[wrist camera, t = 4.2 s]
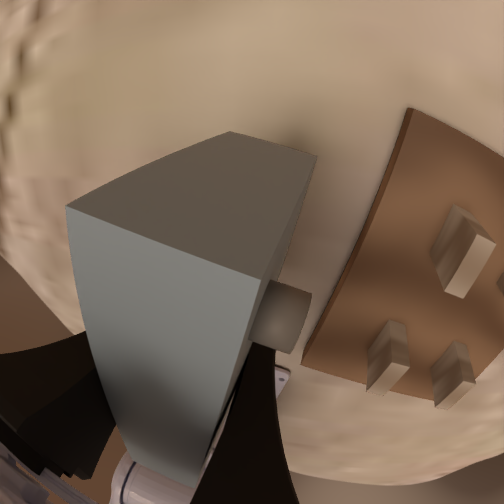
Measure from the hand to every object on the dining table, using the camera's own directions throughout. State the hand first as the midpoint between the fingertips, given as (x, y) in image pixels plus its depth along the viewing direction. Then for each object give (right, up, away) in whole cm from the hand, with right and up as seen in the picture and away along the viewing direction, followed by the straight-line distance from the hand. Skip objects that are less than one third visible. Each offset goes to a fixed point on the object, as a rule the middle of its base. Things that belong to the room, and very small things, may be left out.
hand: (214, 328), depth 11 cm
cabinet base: (+14, 0, +6) cm, 15 cm away
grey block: (+1, +1, +2) cm, 3 cm away
